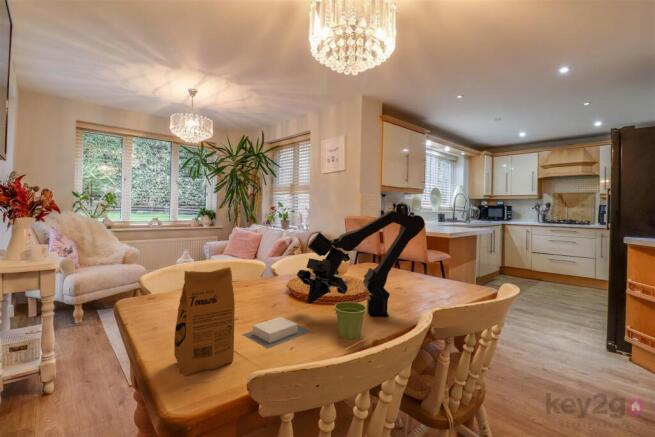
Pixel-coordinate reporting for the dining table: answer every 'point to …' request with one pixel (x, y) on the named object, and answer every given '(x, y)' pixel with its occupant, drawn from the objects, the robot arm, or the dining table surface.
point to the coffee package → (205, 321)
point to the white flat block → (275, 329)
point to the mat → (269, 345)
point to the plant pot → (350, 319)
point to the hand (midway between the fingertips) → (308, 302)
